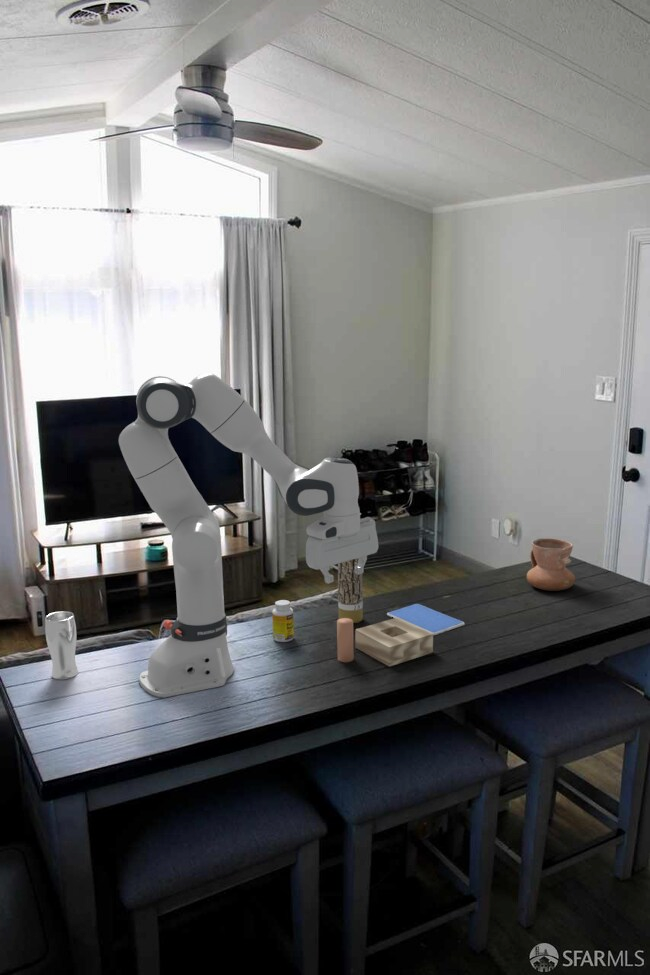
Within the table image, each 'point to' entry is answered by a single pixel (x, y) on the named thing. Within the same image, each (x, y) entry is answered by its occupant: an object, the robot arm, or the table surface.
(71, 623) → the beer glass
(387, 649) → the socket block
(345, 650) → the dowel
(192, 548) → the robot arm
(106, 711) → the table surface
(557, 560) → the ceramic jug
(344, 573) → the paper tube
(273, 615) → the supplement bottle
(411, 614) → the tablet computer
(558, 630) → the table surface
